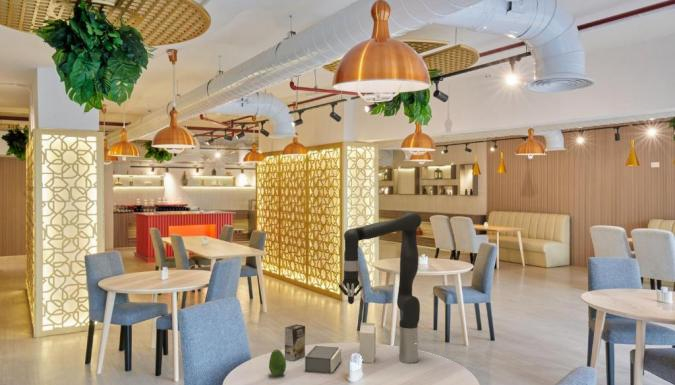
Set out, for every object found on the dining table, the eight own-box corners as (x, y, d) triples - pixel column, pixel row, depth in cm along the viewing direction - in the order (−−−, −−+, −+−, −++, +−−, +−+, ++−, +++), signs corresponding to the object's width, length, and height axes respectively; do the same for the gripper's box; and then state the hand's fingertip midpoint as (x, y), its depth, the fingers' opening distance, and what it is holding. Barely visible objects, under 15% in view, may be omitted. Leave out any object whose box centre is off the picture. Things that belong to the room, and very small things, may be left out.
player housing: (338, 361, 267) (338, 347, 267) (329, 373, 249) (329, 358, 249) (315, 359, 270) (315, 345, 270) (305, 371, 252) (305, 356, 252)
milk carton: (373, 363, 264) (373, 325, 264) (359, 362, 266) (359, 324, 265) (375, 358, 271) (375, 321, 271) (361, 357, 273) (361, 320, 272)
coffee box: (293, 361, 267) (293, 329, 266) (284, 359, 270) (284, 327, 270) (305, 356, 274) (305, 325, 274) (296, 354, 278) (296, 323, 278)
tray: (341, 359, 266) (341, 348, 266) (332, 371, 249) (332, 359, 249) (318, 358, 269) (318, 346, 269) (308, 369, 252) (308, 357, 252)
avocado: (270, 372, 251) (270, 347, 251) (286, 372, 251) (286, 347, 251) (267, 378, 243) (267, 352, 243) (284, 378, 243) (284, 352, 243)
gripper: (336, 270, 265) (336, 304, 265) (362, 271, 261) (362, 306, 262) (340, 267, 272) (340, 301, 272) (365, 268, 269) (365, 302, 269)
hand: (351, 303), depth 267 cm, fingers closed
